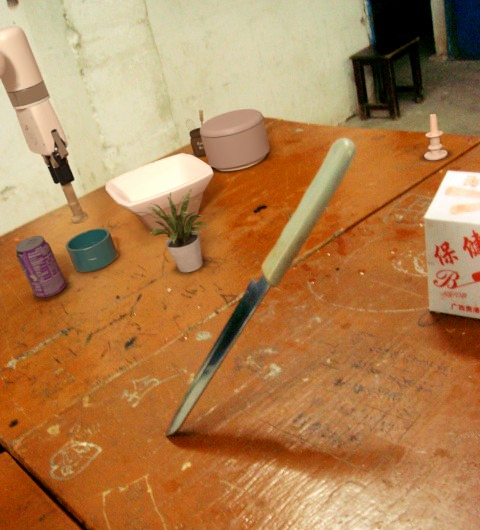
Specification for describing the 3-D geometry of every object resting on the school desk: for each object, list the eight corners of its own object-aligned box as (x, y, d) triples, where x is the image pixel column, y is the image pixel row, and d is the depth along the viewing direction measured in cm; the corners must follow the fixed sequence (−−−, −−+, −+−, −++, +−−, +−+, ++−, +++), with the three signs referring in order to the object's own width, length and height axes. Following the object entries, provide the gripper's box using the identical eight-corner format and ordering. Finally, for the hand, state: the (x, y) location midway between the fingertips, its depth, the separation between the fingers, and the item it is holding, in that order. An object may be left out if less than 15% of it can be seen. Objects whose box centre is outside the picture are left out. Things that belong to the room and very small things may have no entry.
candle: (437, 149, 153) (434, 106, 148) (452, 154, 149) (449, 110, 143) (419, 157, 152) (416, 114, 146) (433, 162, 148) (430, 118, 142)
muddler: (77, 225, 138) (51, 161, 131) (70, 222, 141) (43, 159, 133) (91, 217, 140) (66, 154, 132) (83, 215, 143) (58, 152, 135)
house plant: (158, 295, 126) (131, 221, 118) (148, 266, 138) (123, 197, 129) (226, 271, 128) (204, 196, 119) (210, 245, 139) (189, 175, 131)
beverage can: (44, 284, 143) (22, 236, 137) (72, 280, 141) (51, 232, 135) (30, 301, 137) (6, 253, 131) (59, 298, 135) (36, 249, 129)
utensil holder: (190, 155, 194) (178, 117, 188) (205, 147, 197) (194, 109, 191) (202, 157, 190) (191, 118, 184) (217, 149, 193) (207, 110, 187)
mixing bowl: (89, 278, 140) (79, 254, 137) (67, 267, 147) (57, 245, 144) (126, 256, 145) (118, 233, 142) (104, 247, 152) (95, 225, 149)
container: (284, 148, 180) (275, 107, 174) (243, 175, 170) (233, 132, 164) (236, 146, 191) (227, 107, 185) (196, 171, 181) (185, 131, 175)
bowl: (139, 251, 145) (123, 209, 140) (113, 220, 165) (98, 182, 160) (232, 213, 151) (220, 171, 145) (195, 187, 171) (184, 149, 165)
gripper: (-4, 100, 130) (33, 184, 140) (29, 104, 118) (67, 195, 128) (28, 87, 133) (62, 170, 143) (63, 89, 122) (98, 179, 132)
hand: (64, 181), depth 136 cm, fingers closed on muddler, 2 cm apart
